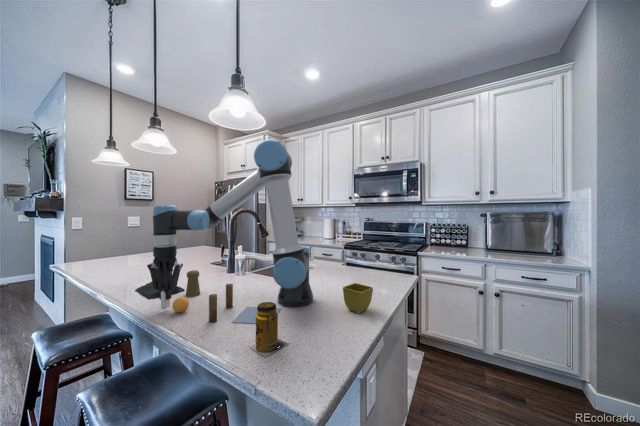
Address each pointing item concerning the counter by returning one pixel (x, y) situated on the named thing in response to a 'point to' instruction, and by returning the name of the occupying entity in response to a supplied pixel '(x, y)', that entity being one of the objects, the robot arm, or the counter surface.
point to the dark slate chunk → (154, 291)
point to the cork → (192, 284)
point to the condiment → (267, 330)
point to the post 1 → (212, 308)
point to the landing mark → (249, 315)
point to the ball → (180, 304)
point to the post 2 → (229, 295)
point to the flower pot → (357, 296)
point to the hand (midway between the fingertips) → (165, 307)
